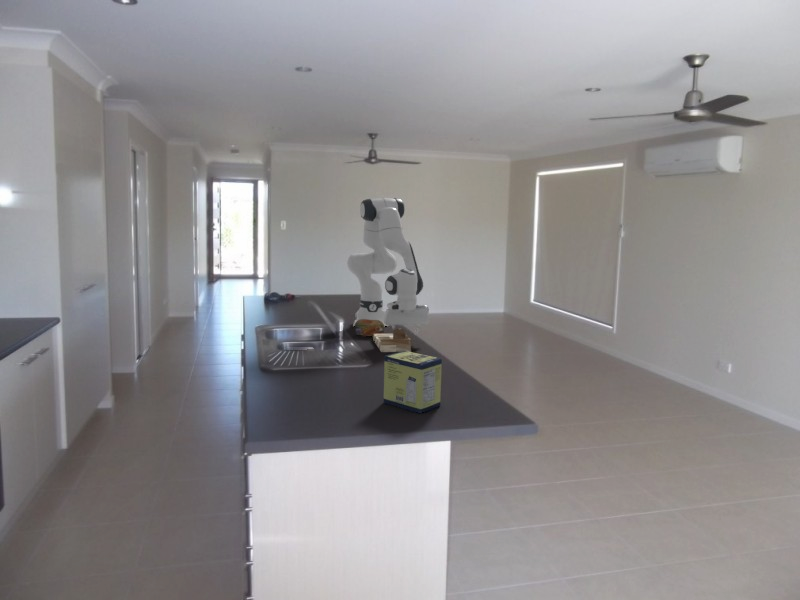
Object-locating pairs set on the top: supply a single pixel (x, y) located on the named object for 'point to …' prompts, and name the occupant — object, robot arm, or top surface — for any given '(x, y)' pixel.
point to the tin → (369, 327)
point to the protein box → (412, 381)
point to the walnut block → (398, 334)
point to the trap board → (392, 343)
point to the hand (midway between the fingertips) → (405, 334)
